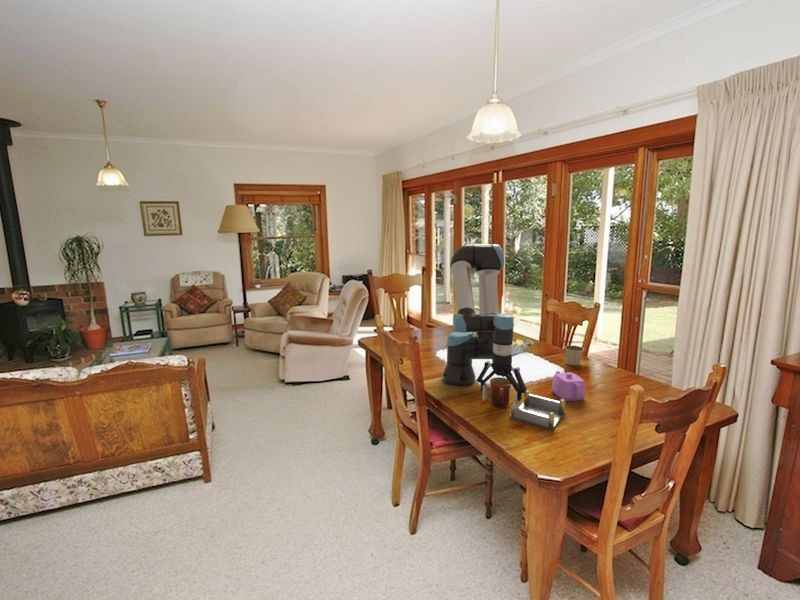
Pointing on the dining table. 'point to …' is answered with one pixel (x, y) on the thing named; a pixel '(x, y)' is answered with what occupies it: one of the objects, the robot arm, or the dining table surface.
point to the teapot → (568, 386)
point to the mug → (500, 392)
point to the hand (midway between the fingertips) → (500, 403)
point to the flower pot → (573, 354)
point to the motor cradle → (538, 411)
